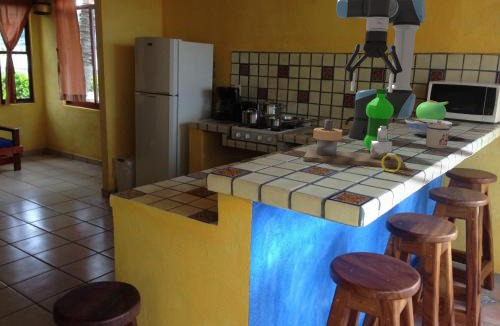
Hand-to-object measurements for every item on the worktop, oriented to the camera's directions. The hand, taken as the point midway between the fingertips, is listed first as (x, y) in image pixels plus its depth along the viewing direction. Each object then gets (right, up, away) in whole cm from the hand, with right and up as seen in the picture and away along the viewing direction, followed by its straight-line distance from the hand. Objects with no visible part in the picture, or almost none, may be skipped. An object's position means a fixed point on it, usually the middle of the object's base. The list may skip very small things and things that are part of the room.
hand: (371, 91), depth 158 cm
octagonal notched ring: (-16, -17, 0) cm, 23 cm away
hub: (+2, -24, -3) cm, 24 cm away
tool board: (-7, -25, 0) cm, 26 cm away
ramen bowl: (+47, -12, +67) cm, 83 cm away
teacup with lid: (+39, -19, +34) cm, 55 cm away
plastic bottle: (+7, -21, +19) cm, 29 cm away
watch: (+2, -29, -16) cm, 33 cm away
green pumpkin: (+72, 0, +122) cm, 142 cm away
